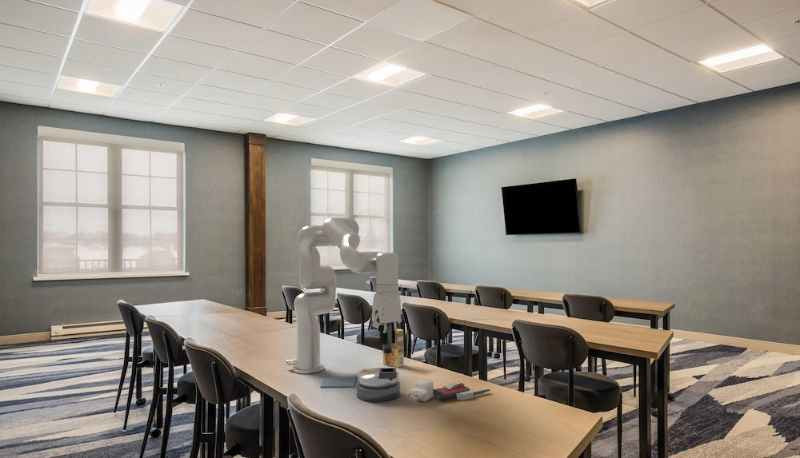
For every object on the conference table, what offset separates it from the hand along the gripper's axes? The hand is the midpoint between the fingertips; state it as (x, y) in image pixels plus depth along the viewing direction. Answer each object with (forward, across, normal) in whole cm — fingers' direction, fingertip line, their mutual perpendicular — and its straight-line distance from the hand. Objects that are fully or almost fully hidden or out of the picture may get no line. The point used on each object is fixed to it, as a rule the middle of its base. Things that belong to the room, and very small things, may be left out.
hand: (387, 343), depth 158 cm
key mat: (+18, +1, -25) cm, 31 cm away
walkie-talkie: (+19, -18, +17) cm, 31 cm away
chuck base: (+18, 0, -5) cm, 19 cm away
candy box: (+19, -31, -27) cm, 45 cm away
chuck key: (+3, 0, 0) cm, 3 cm away
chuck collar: (+14, 0, -5) cm, 15 cm away
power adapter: (+19, -5, +10) cm, 22 cm away
